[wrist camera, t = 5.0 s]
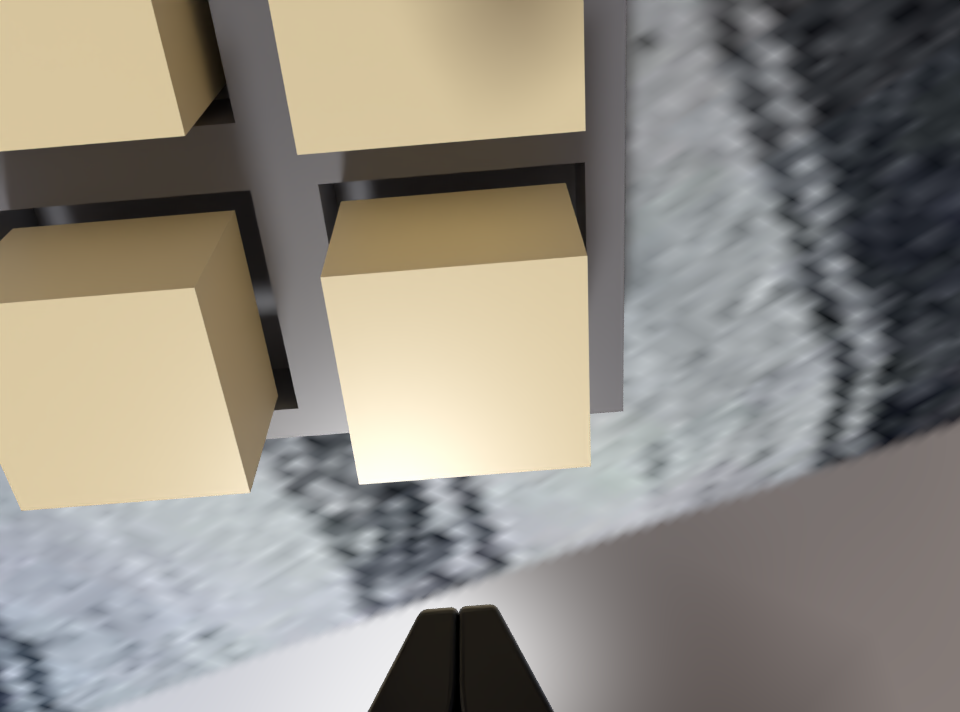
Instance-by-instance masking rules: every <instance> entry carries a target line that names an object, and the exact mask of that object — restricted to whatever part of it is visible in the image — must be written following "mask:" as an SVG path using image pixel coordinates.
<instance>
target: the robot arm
mask: <svg viewBox="0 0 960 712" xmlns="http://www.w3.org/2000/svg"><path fill="white" fill-rule="evenodd" d="M368 712H554V711H553V709H552V707H551V705H550V704H549V702H548V700H547V698H546V696H545V694H544V693H543V691H542V689H541V687H540V685H539V683H538V681H537V680H536V678H535V676H534V674H533V672H532V670H531V669H530V667H529V665H528V663H527V661H526V659H525V657H524V656H523V654H522V652H521V650H520V648H519V646H518V645H517V643H516V641H515V639H514V637H513V635H512V633H511V632H510V630H509V628H508V626H507V624H506V622H505V621H504V619H503V617H502V615H501V613H500V611H499V610H498V608H497V607H496V606H494V605H476V606H465V607H462V609H460V611H459V613H458V611H457V610H456V609H454V608H452V607H451V608H438V609H426V610H423V611H422V612H421V613H420V614H419V615H418V617H417V618H416V620H415V622H414V624H413V626H412V628H411V630H410V632H409V634H408V636H407V638H406V639H405V642H404V644H403V645H402V647H401V649H400V651H399V653H398V655H397V657H396V659H395V661H394V662H393V664H392V667H391V668H390V670H389V672H388V674H387V676H386V678H385V680H384V682H383V684H382V685H381V687H380V689H379V691H378V693H377V695H376V697H375V699H374V701H373V703H372V705H371V707H370V709H369V710H368Z"/></svg>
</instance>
